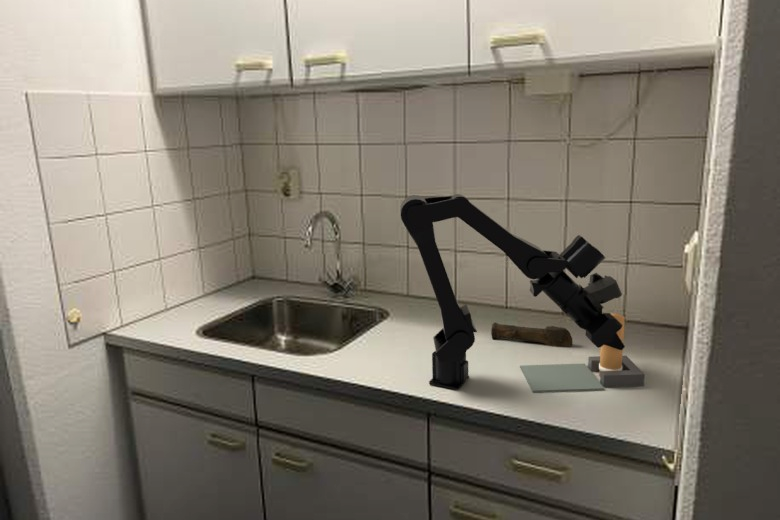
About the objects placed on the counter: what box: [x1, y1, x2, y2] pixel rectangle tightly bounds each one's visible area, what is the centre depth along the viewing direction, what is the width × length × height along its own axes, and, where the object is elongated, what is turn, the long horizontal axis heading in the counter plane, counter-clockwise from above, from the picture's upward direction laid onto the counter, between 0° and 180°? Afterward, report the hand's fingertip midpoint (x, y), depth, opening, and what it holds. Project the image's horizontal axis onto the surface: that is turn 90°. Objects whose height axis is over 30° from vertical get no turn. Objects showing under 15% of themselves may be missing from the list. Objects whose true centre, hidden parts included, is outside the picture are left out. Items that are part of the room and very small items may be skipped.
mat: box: [519, 363, 605, 393], centre depth 123 cm, size 14×12×1 cm
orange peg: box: [598, 312, 626, 377], centre depth 121 cm, size 4×4×13 cm
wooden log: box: [490, 322, 573, 348], centre depth 142 cm, size 19×4×5 cm, turn 63°
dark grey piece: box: [587, 355, 646, 388], centre depth 122 cm, size 8×9×2 cm
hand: (618, 344), depth 121 cm, fingers closed on orange peg, 4 cm apart
